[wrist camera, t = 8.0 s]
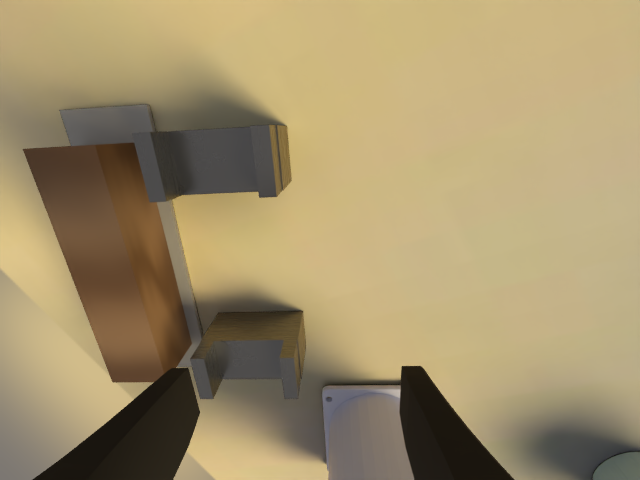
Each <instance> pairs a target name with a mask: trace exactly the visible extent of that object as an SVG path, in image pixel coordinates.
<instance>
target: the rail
mask: <svg viewBox="0 0 640 480" xmlns="http://www.w3.org/2000/svg"><path fill="white" fill-rule="evenodd" d="M23 151H24V153H25V156H26V159H27V161H28V164H29V166H30V169H31V172H32V174H33V177H34V179H35V182H36V185H37V187H38V190H39V192H40V195H41V198H42V200H43V203H44V205H45V208H46V211H47V213H48V216H49V218H50V221H51V224H52V226H53V229H54V231H55V234H56V236H57V239H58V242H59V244H60V247H61V249H62V252H63V255H64V257H65V260H66V262H67V265H68V268H69V270H70V273H71V275H72V278H73V281H74V283H75V286H76V288H77V291H78V294H79V296H80V299H81V301H82V304H83V307H84V309H85V312H86V314H87V317H88V320H89V322H90V325H91V327H92V330H93V332H94V335H95V338H96V340H97V343H98V345H99V348H100V351H101V353H102V356H103V358H104V361H105V364H106V366H107V369H108V371H109V374H110V377H111V379H112V382H155V381H156V380H157V379H159V378H160V377H161V376H162V375H163V374H165V373H166V372H167V371H168V370H170V369H171V368H176V367H177V366H178V364H179V363H180V361H181V360H182V358H183V357H184V355H185V354H186V352H187V351H188V349H189V348H190V346H191V345H192V341H191V337H190V333H189V329H188V325H187V321H186V317H185V313H184V309H183V305H182V301H181V297H180V293H179V289H178V285H177V281H176V277H175V273H174V269H173V265H172V261H171V257H170V253H169V249H168V245H167V241H166V237H165V233H164V229H163V225H162V221H161V217H160V213H159V209H158V205H157V202H149V198H148V194H147V190H146V186H145V183H144V179H143V175H142V171H141V167H140V163H139V159H138V155H137V152H136V148H135V144H134V142H133V143H116V144H98V145H81V146H65V147H49V148H33V149H23Z"/></svg>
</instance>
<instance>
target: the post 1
mask: <svg viewBox="0 0 640 480" xmlns="http://www.w3.org/2000/svg"><path fill="white" fill-rule="evenodd" d="M132 136H133V140H134V144H135V148H136V152H137V155H138V159H139V163H140V167H141V171H142V175H143V179H144V183H145V186H146V190H147V194H148V198H149V202H167V201H169V200H172V199H174V198H176V197H179V196H181V195H191V194H213V193H235V192H257V191H258V192H259V198H261V197H277V196H278V195H279V194H280V192H281V191H282V190H284V189H285V188H286V187H287V185H288V184H289V183H290V182H291V181H292V180H291V168H290V157H289V145H288V134H287V126H280V125H257V126H250V127H239V128H222V129H205V130H188V131H172V132H139V133H132Z"/></svg>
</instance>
